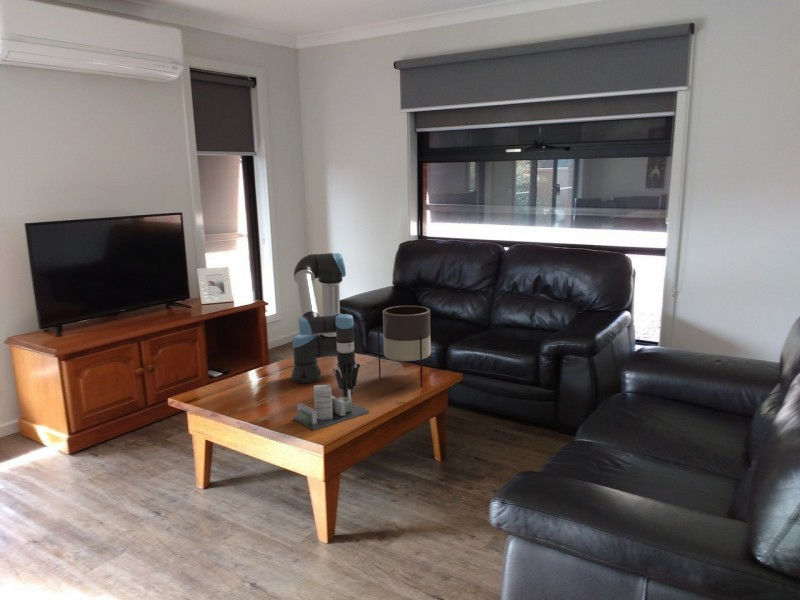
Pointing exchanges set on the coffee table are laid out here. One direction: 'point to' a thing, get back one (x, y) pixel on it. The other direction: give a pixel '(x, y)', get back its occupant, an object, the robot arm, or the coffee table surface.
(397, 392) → the coffee table surface
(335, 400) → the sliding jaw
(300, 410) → the vise
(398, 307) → the planter
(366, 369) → the coffee table surface
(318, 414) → the supplement box
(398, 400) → the coffee table surface
